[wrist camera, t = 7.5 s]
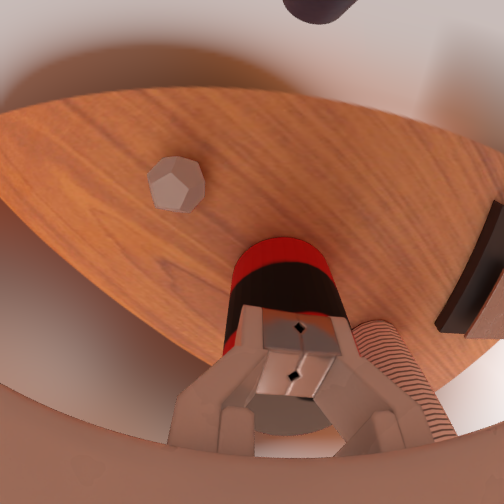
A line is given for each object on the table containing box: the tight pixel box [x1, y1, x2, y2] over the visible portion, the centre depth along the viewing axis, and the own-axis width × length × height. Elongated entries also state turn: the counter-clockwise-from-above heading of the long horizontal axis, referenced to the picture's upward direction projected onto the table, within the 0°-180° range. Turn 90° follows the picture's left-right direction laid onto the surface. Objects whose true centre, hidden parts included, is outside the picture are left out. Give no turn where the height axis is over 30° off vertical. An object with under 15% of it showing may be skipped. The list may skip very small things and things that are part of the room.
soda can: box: [222, 237, 361, 436], centre depth 18 cm, size 8×8×12 cm
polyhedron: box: [147, 156, 205, 213], centre depth 18 cm, size 4×4×3 cm
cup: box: [352, 321, 458, 442], centre depth 20 cm, size 8×8×16 cm
